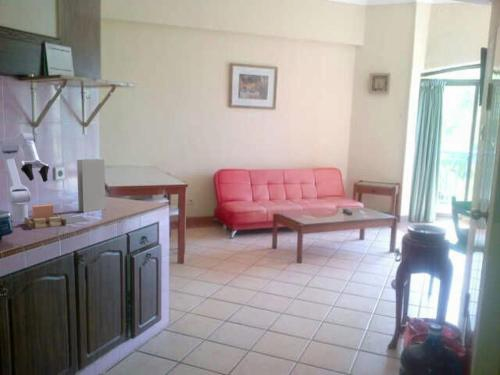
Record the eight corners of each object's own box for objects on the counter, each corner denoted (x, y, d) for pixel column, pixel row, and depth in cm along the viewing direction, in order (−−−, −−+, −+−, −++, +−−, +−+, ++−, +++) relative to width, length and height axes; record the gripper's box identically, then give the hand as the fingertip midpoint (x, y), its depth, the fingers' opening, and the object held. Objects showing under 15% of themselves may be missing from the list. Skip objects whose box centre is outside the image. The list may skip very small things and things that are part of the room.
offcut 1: (33, 227, 222) (33, 219, 221) (44, 225, 225) (44, 217, 224) (35, 228, 220) (34, 220, 219) (46, 226, 223) (45, 219, 222)
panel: (33, 223, 229) (32, 206, 228) (52, 221, 235) (51, 204, 233) (34, 224, 227) (33, 206, 226) (53, 222, 232) (53, 205, 231)
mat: (58, 219, 242) (58, 218, 242) (81, 216, 249) (81, 215, 249) (65, 224, 231) (65, 223, 231) (89, 221, 238) (89, 220, 238)
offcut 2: (48, 225, 226) (48, 217, 226) (59, 224, 229) (59, 216, 229) (50, 226, 224) (50, 218, 223) (61, 225, 227) (60, 217, 226)
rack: (24, 224, 229) (24, 217, 229) (57, 220, 239) (57, 214, 238) (31, 230, 217) (31, 223, 217) (66, 226, 227) (65, 219, 227)
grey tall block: (100, 208, 275) (99, 158, 270) (105, 209, 271) (104, 159, 267) (78, 211, 264) (76, 159, 259) (83, 212, 260) (82, 160, 256)
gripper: (23, 149, 211) (30, 175, 208) (49, 153, 224) (56, 177, 221) (13, 156, 214) (21, 182, 211) (40, 160, 227) (47, 184, 224)
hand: (38, 180), depth 216 cm, fingers open, 7 cm apart
